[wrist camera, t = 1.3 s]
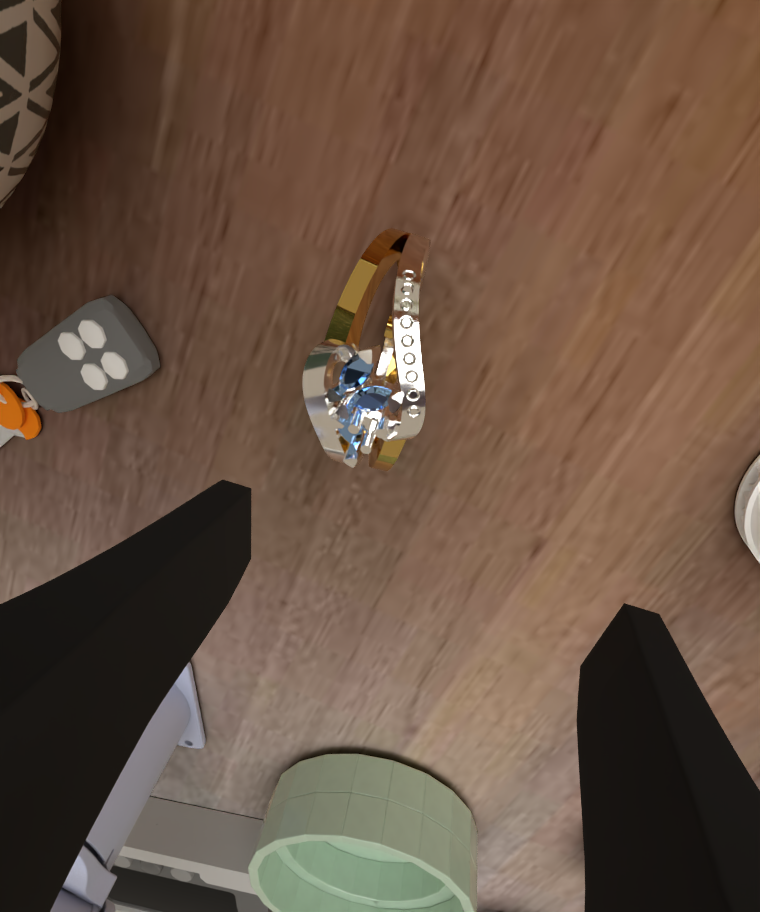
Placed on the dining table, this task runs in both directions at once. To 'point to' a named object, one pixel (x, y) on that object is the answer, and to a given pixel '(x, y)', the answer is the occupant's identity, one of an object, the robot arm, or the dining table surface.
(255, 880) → the celadon bowl
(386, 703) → the dining table surface
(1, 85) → the planter
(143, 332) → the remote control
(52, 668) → the robot arm
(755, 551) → the vase
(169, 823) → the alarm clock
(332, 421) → the ring
